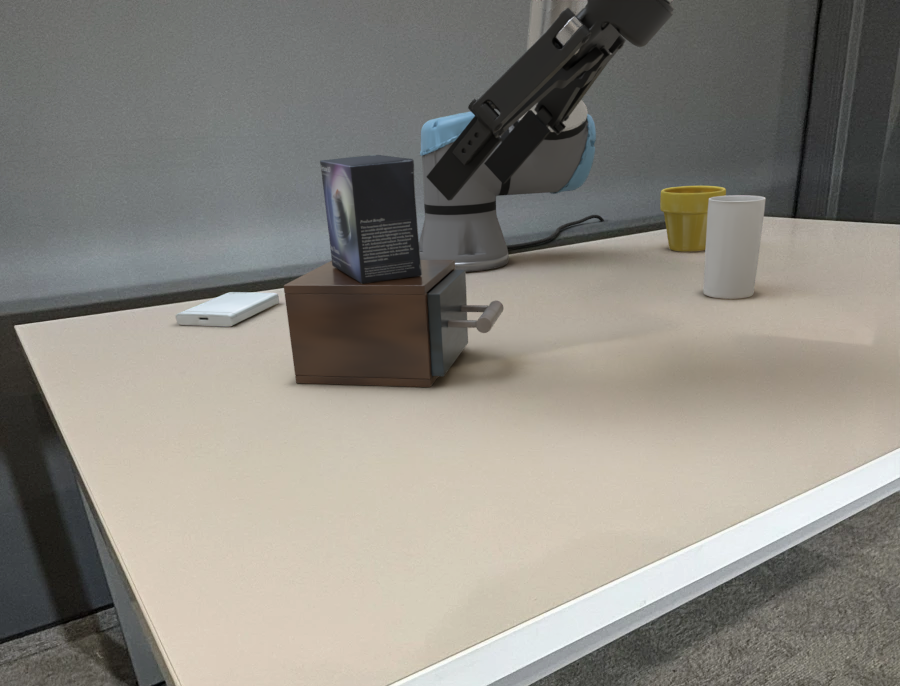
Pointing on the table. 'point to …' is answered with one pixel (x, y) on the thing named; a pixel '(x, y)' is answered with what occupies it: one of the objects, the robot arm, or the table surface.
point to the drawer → (454, 320)
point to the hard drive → (227, 309)
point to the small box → (372, 217)
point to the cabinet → (362, 327)
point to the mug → (732, 245)
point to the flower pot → (687, 215)
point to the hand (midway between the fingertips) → (468, 180)
